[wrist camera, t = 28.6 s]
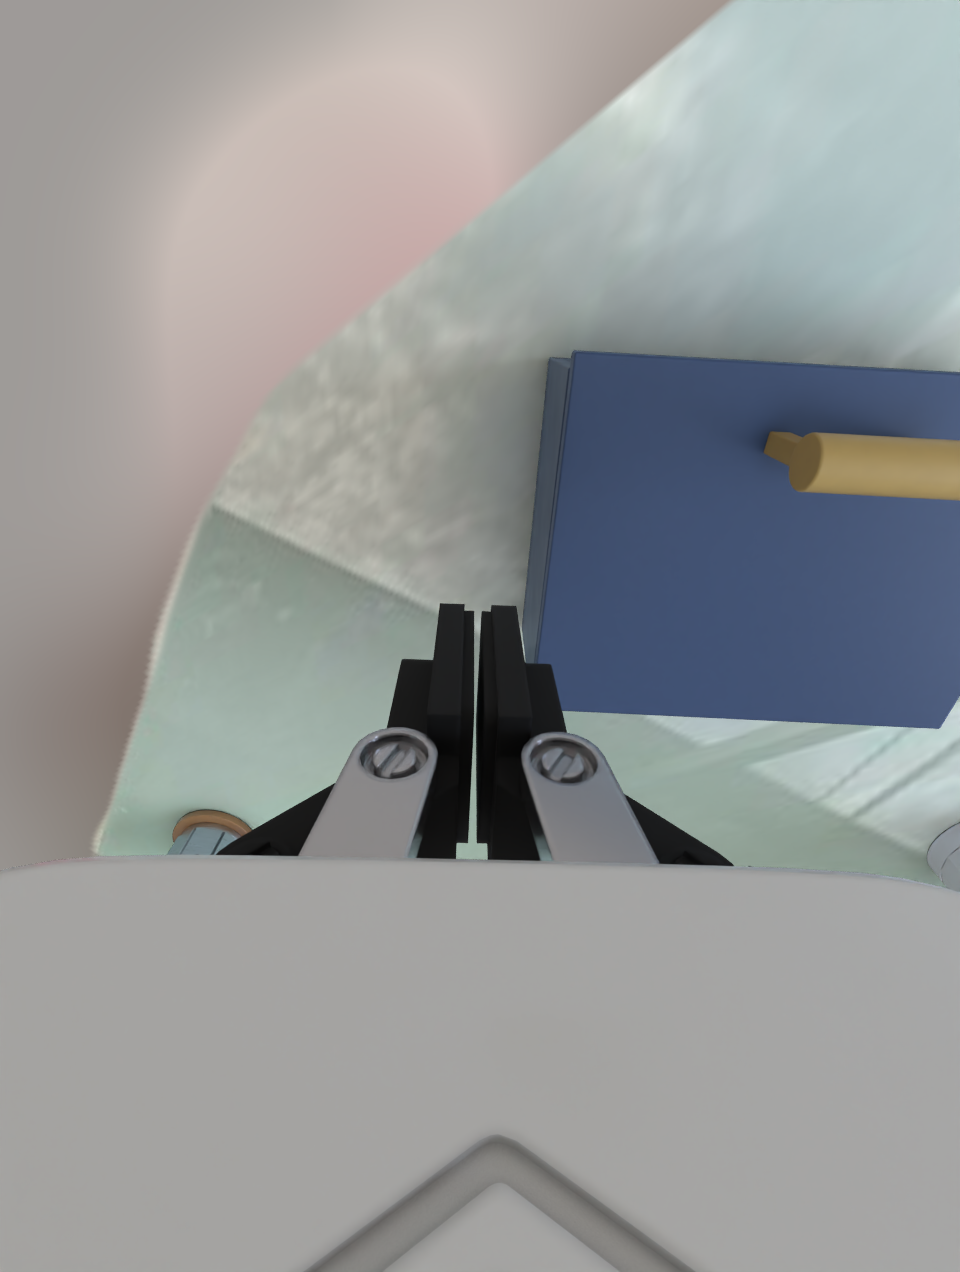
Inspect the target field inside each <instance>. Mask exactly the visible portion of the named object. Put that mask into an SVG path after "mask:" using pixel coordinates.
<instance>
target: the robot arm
mask: <svg viewBox="0 0 960 1272" xmlns="http://www.w3.org/2000/svg"><path fill="white" fill-rule="evenodd" d="M464 606H465V604H442V603H440V609H439V617H438V625H437V634H436V642H435V650H434V658H433V660H416V659H402V661H401V665H400V670H399V674H398V679H397V684H396V688H395V693H394V697H393V702H392V707H391V711H390V716H389V721H388V725H387V728H386V729H380V730H378V731H375V732H373V733H370V734H368V735H367V736H365V737H364V738H363V739H361V740H360V741H359V742H358V743H357V745H356V746H355V747H354V748H353V750H352V752H351V754H350V756H349V758H348V760H347V762H346V764H345V766H344V768H343V769H342V771H341V773H340V775H339V777H338V779H337V781H336V783H334V784H333V785H331V786H329V787H327V788H326V789H324V790H322V791H320V792H319V793H317V794H315V795H313V796H312V797H310V798H308V799H306V800H305V801H303V802H301V803H299V804H298V805H296V806H294V807H292V808H290V809H289V810H287V811H285V812H283V813H282V814H280V815H278V816H276V817H275V818H273V819H271V820H269V821H268V822H266V823H264V824H262V825H261V826H259V827H257V828H255V829H254V830H252V831H250V832H248V833H247V834H245V835H243V836H241V837H240V838H238V839H236V840H234V841H233V842H231V843H230V844H228V845H227V846H226V847H224V848H223V849H221V850H220V851H219V852H218V853H217V854H216V855H199V854H195V855H136V856H96V857H85V858H74V859H61V860H53V861H47V862H41V863H35V864H29V865H24V866H18V867H12V868H8V869H4V870H0V1272H960V892H957V891H954V890H951V889H948V888H944V887H940V886H936V885H931V884H927V883H922V882H918V881H913V880H909V879H904V878H898V877H891V876H883V875H876V874H868V873H858V872H842V871H827V870H811V869H796V868H773V867H751V866H748V867H740V866H734V865H733V864H732V863H731V862H729V861H728V860H727V859H726V858H724V857H723V856H722V855H720V854H719V853H718V852H716V851H715V850H713V849H711V848H710V847H708V846H707V845H705V844H703V843H702V842H700V841H699V840H697V839H695V838H694V837H692V836H691V835H689V834H687V833H686V832H684V831H683V830H681V829H679V828H678V827H676V826H675V825H673V824H671V823H670V822H668V821H667V820H665V819H663V818H662V817H660V816H659V815H657V814H655V813H654V812H652V811H651V810H649V809H647V808H646V807H644V806H643V805H641V804H639V803H638V802H636V801H635V800H633V799H631V798H630V797H628V796H627V795H625V794H624V793H623V791H622V789H621V788H620V786H619V784H618V782H617V780H616V778H615V776H614V774H613V772H612V770H611V768H610V766H609V764H608V762H607V760H606V758H605V757H604V755H603V754H602V752H601V751H600V750H599V748H598V747H596V746H595V745H594V744H593V743H591V742H590V741H589V740H587V739H584V738H582V737H580V736H578V735H574V734H570V733H567V731H566V726H565V722H564V718H563V713H562V709H561V704H560V700H559V696H558V691H557V687H556V682H555V678H554V674H553V669H552V666H551V664H538V663H525V661H524V655H523V648H522V641H521V635H520V628H519V621H518V614H517V608H516V606H498V605H492V606H491V612H486V611H482V615H481V633H480V653H479V672H478V692H477V712H476V791H477V843H487V846H488V860H477V859H456V843H468V830H469V810H470V789H471V769H472V748H473V727H474V611H464Z"/></svg>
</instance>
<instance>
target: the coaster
mask: <svg viewBox="0 0 960 1272" xmlns="http://www.w3.org/2000/svg"><path fill="white" fill-rule="evenodd" d="M204 822H209V823H217V824H221V825H224V826H227V827H229V828H231V829H233V830H235V831H236V832H237V833H239V834H240V835H241V836H243V835H245V834H247V833H248V832H250V831H252V830H251V829H250V828H249V827H248V826H247V825H246V824H245V823H244V822H242V821H241V820H240V819H238V818H236V817H234V816H232V815H229V814H227V813H223V812H219V811H213V810H200V811H195V812H192V813H189V814H187V815H185V816H184V817H182V818H181V819H180V820H179V822H178V823H177V825H176V826H175V828H174V830H173V842H175V841H176V839H177V837H178V836H180V835H182V833H183V832H184V830H185V829H186V828H188V827H189V826H191V825H194V824H197V823H204Z"/></svg>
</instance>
